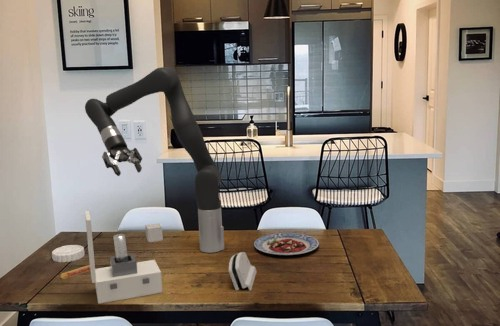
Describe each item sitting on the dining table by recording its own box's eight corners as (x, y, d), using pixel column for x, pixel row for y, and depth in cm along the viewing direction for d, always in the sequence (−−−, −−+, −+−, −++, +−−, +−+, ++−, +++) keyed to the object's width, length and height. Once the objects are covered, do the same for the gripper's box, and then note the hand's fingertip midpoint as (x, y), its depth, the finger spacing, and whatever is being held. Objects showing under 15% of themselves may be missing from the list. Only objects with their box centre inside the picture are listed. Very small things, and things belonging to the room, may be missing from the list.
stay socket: (134, 265, 168) (133, 253, 168) (137, 273, 161) (136, 261, 161) (110, 268, 166) (109, 257, 165) (112, 277, 159) (112, 265, 158)
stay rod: (128, 267, 166) (123, 233, 164) (130, 271, 163) (125, 236, 160) (117, 269, 165) (112, 235, 162) (118, 273, 161) (114, 238, 159)
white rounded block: (250, 290, 162) (239, 262, 161) (237, 295, 163) (225, 267, 162) (256, 270, 178) (246, 245, 177) (244, 274, 179) (234, 249, 178)
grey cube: (159, 236, 221) (159, 223, 220) (162, 240, 215) (161, 226, 214) (146, 238, 219) (145, 225, 218) (148, 242, 213) (147, 228, 212)
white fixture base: (155, 278, 174) (150, 203, 169) (162, 293, 162) (157, 212, 158) (91, 289, 167) (84, 210, 162) (94, 305, 155) (86, 220, 151)
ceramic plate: (332, 249, 198) (332, 242, 198) (280, 264, 184) (280, 257, 184) (291, 233, 219) (291, 227, 219) (241, 246, 205) (241, 239, 205)
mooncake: (53, 254, 203) (52, 246, 202) (84, 250, 206) (83, 242, 206) (51, 264, 191) (50, 255, 191) (85, 260, 195) (84, 251, 195)
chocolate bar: (60, 278, 178) (59, 272, 178) (91, 268, 187) (90, 262, 186) (63, 280, 177) (62, 274, 176) (94, 270, 185) (94, 264, 185)
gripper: (98, 135, 189) (115, 169, 182) (132, 132, 198) (149, 164, 191) (93, 148, 193) (109, 181, 187) (127, 144, 203) (143, 176, 196)
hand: (129, 172), depth 189 cm, fingers open, 8 cm apart
